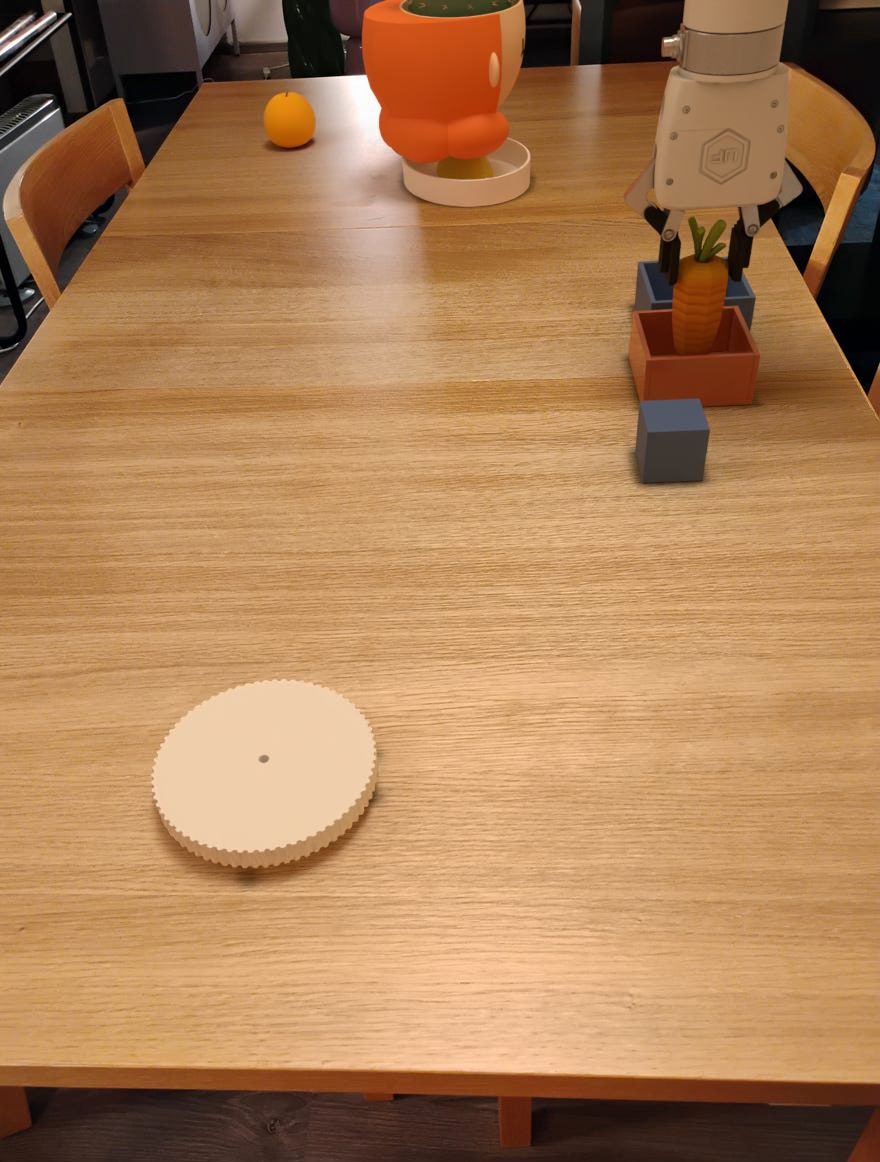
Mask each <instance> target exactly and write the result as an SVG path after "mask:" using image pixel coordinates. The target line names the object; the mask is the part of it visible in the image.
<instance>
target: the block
mask: <svg viewBox="0 0 880 1162" xmlns="http://www.w3.org/2000/svg"><path fill="white" fill-rule="evenodd" d="M638 405H639V406H638V415H637V425H636V426H637V427H636V438H635V449H634V452H635V456H636V460H637V465H638V469H639V473H640V478H641V483H643V484H652V483H679V482H681V483H682V482H701V481H703V480H704V474H705V467H706V460H707V454H708V453H707V452H708V446H709V440H710V433H711V428H710V425H709V422H708V419H707V416H706V414H705V411H704V407H702V404H701V402H700V399H699V398H698V399H676V400H654V401H640V400H639V404H638Z"/></svg>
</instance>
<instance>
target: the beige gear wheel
mask: <svg viewBox="0 0 880 1162" xmlns="http://www.w3.org/2000/svg"><path fill="white" fill-rule="evenodd" d="M209 698H210V699H208V700H207V699H204V700H203V701H201V704H197V705H195V706H194V708H193V710H189V711H187V713H186V715H183V716H181V717H180V721H179V722H175V724H174V727H173V728H170V729H169V731H168V735H165V736H164V738H163V742H161V743H160V744H159V748H160V749H159V750H156V753H155V754H156V756H157V757H154V759H153V764H154V765H152V766H151V770H152V773H151V774H150V778H151V781H150V785H151V787H152V788H151V793H152V797H153V801H154V804H155V806H156V809H157V811H158V813H159V817H160V819H161V822H162V823H163V825H164V828H165V829H166V830H167V831H168V834H169V835H170V836H171V837H172V836H173V839H174V841H175V842H176V843H177V842H178V843H179V844H180V846H181V847H182V848H185V847H186V850H187V852H188V853H194V855H195V856H196V857H197V858H200V857H202V858H203V860H204V861H209V860H211V861H212V862H211V863H213V864H216V865H217V864H218V863H220V864H221V866H224V867H227V866H228V865H230V866H231V867H232V868H238V866H241V868H242V869H248V867H252V869H258V868H259V867H261V866H262V867H263V868H269V866H270V865H273V866H274V867H277V866H280V864H282V863H284V864H285V865H286V864H290V863H291V861H293V860H294V861H295V862H297V861H300V860H301V857H305V858H307V857H310V856H311V853H313V852H314V853H318V852H320V851H321V850H320V849H321V848H322V847H323V848H327V847H328V846H330V843H331V842H336V841H338V837H339V836H343V835H345V834H346V830H347V829H348V830H350V829H351V828H352V827H353V823H357V822H358V821H359V819H360V818H359V816H360V815H363V814H364V813H365V808H367V807H368V806H369V805H370V804H369V803H370V802H369V800H372V799H373V792H375V791H376V784H377V783H378V776H379V758H378V757H379V756H378V749H377V743H376V738H375V734H374V733H373V728H372V726H370V725H371V724H370V721H369V719H367V718H366V714H364V713H362V709H360V708H359V707H358V708H357V704H355V703H354V702H351V700H350V699H349V698H348V697H346V698H345V697H344V694H342V693H339V694H338V692H337V691H336V690H335V689H332V690H330V688H329V687H328V686H324V687H323V686H322V684H321V683H320V684H319V683H317V684H314V682H312V681H309V682H305V680H302V679H301V680H299V681H296V679H294V678H293V679H290V680H287V678H282V679H281V680H278V678H274V679H272V680H268V679H263V681H259V680H256V681H254V682H253V683H250V682H247V683H245V685H240V684H239V685H236V686H235V688H232V687H229V688H228V689H226V691H224V692H223V691H220V692H218V694H217V695H212V696H210V697H209Z"/></svg>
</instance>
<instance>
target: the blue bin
mask: <svg viewBox="0 0 880 1162" xmlns="http://www.w3.org/2000/svg"><path fill="white" fill-rule="evenodd" d="M720 257H721V258H723V259H725V260H726V261H727V258H728V256H720ZM681 259H682V258H680V259H679V261H680V260H681ZM673 290H674V286H668V284H667V281H666V278H665V276H664V273H659V270H658V260H641V261H640V260H639V261H637V272H636V282H635V293H634V294H635V296H634V305H633V306H634V311H645V310H664V309H672V306H673ZM756 299H757V297H756V295H755V293H754V291H753V289H752V287H751V285H750V282H749V281H748V279H747V277H746V275H745V273H744V271H743V272H742V279H741V282H734V281H732V280H731V277H730V275H729V276H728V283H727V289H726V295H725V301H724V306H738V307H739V309H740V311H741V313H742V316H743V318H744V320H745V322H746V324H747V327H748V329H749V331H750V332H751V330H752V325H753V318H754V311H755V305H756Z"/></svg>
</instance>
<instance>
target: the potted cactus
mask: <svg viewBox="0 0 880 1162" xmlns="http://www.w3.org/2000/svg"><path fill="white" fill-rule="evenodd" d="M526 26H527V25H526V11H525V6H524V0H382V1H379V2H377V3H375V4H373V5H370V6H369V7H368V8H367V9H365V10H364V13H363V18H362V27H361V28H362V30H361V49H362V50H361V51H362V52H361V53H362V60H363V66H364V72H365V75H366V78H367V82H368V85H369V89H370V90H371V92H372V94H373V96H374V97H375V99H376V101H377V103H378V104H379V107H380V112H379V116H378V128H379V130H378V131H379V134H380V136H381V139H382V141H383V143H385V144H386V146H388V147H389V148H391V149H392V151H393V152H394V153H396V154H397V155H399V156H400V157H401V161H402V173H403V174H402V175H403V184H404V186H405V188H406V190H407V191H408V192H410V193H411V194H413V195H414V196H415V197H417V198H419V199H421V200H424V201H427V202H430V203H434V204H438V205H444V206H448V207H449V206H451V207H463V208H471V207H473V208H474V207H475V208H476V207H485V206H486V207H487V206H493V205H497V204H502V203H506V202H509V201H511V200H514V199H516V198H518V197H520V196H521V195H523V194H524V193H525V192H526V191H527V190H528V189H529V187H530V185H531V152H530V150H529V149H528V148H527V147H526V146H525V145H524V144H523V143H521V142H520V141H517V140H516V139H513V138H511V137H508V136H509V134H510V126H509V122H508V120H507V118H506V117H505V115H503V113H501V112H500V111H498V109H499V108H500V107H501V105H502V104H503V103H504V102H505V101H506V99H507V98H508V96H509V94H510V93H511V92H512V91H513V88H514V86H515V84H516V81H517V79H518V76H519V74H520V70H521V67H522V63H523V59H524V57H525V44H526V28H527V27H526Z"/></svg>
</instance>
